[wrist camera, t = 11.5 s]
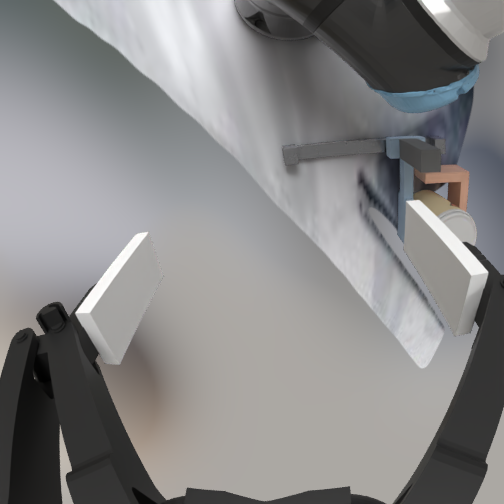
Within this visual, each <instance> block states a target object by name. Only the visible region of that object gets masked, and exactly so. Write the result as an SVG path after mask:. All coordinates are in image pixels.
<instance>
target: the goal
mask: <svg viewBox="0 0 504 504" xmlns="http://www.w3.org/2000/svg"><path fill="white" fill-rule="evenodd" d="M414 170H415V176H416V177H417V178H419V179H420V180H421V181H422V182H424V183H425V184H429V183H446V182H448V201H450V202H451V203H453V204H454V205H456V206H457V207H458V208H460V209H461V210H463V211H465V212H466V209H467V197H468V185H469V172H468V171H467V170H465V169H463V168H461V167H460V166H458V165H441V172H429V173H421V172H419V171H418V170H416V169H415V168H414Z"/></svg>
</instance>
